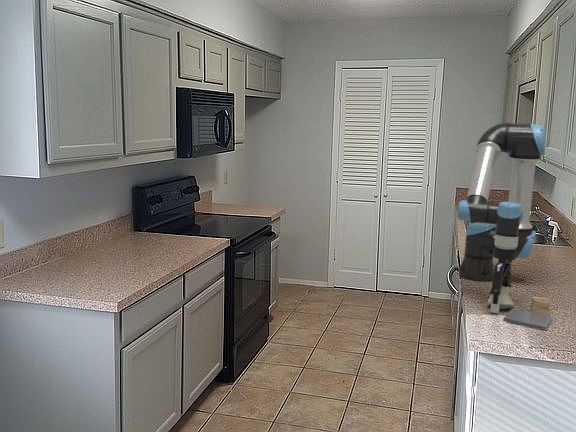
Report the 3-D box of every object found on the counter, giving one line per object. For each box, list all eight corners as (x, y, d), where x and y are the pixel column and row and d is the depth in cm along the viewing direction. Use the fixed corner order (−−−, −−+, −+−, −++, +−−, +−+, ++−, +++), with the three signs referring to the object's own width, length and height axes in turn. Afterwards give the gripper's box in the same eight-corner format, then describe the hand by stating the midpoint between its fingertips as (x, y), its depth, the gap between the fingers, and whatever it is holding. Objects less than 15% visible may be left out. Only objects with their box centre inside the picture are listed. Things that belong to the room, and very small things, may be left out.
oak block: (530, 310, 202) (532, 296, 201) (546, 312, 200) (547, 298, 199) (532, 314, 197) (533, 300, 196) (547, 316, 196) (549, 302, 195)
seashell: (479, 299, 204) (495, 286, 207) (493, 318, 204) (508, 306, 207) (492, 297, 197) (508, 284, 199) (507, 318, 196) (522, 304, 199)
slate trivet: (512, 311, 199) (512, 308, 199) (552, 319, 192) (553, 316, 192) (503, 321, 189) (503, 317, 188) (545, 330, 182) (546, 327, 181)
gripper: (502, 240, 209) (495, 298, 213) (485, 250, 190) (478, 314, 194) (523, 243, 205) (517, 302, 209) (508, 254, 186) (501, 319, 190)
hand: (498, 308), depth 201 cm, fingers open, 11 cm apart
